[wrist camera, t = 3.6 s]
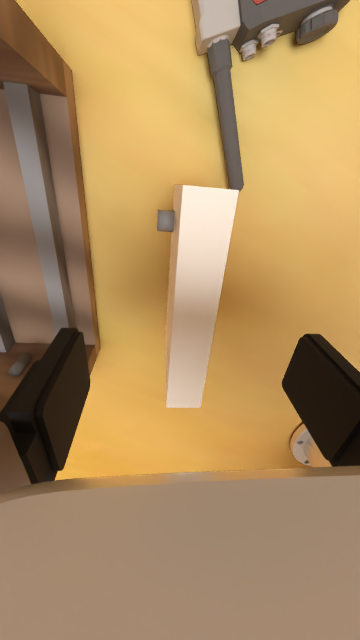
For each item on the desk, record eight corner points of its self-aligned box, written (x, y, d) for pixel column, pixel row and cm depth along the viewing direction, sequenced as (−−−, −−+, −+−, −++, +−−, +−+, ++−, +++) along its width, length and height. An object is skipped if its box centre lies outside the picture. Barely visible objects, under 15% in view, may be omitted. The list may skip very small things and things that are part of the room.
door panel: (188, 338, 25) (200, 407, 17) (154, 337, 25) (150, 407, 17) (206, 187, 18) (238, 190, 11) (159, 183, 18) (157, 182, 10)
